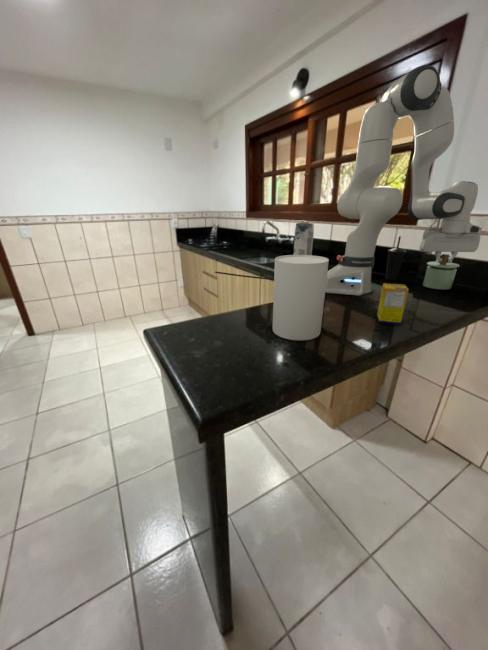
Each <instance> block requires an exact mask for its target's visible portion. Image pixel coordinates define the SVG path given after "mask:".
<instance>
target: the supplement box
mask: <svg viewBox="0 0 488 650" xmlns="http://www.w3.org/2000/svg"><path fill="white" fill-rule="evenodd" d="M408 294H409V288H408V287H407V286H406V284H401V283H387V282H384V283H382V288H381V293H380V298H379V302H378V307H377V313H376V318H377V322H378V323H379V324H389V325H390V324H391V325H399V326H400V325H401V323H402V320H403V316H404V312H405V307H406V302H407V298H408Z"/></svg>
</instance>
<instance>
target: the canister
mask: <svg viewBox="0 0 488 650" xmlns="http://www.w3.org/2000/svg"><path fill="white" fill-rule="evenodd" d="M329 262H330V259H329V258H328V257H325V256H319V255H313V254H312V255H294V254H287V255H279V256H276V257H275V258H274V273H273V274H274V276H273V278H274V280H273V298H272V299H273V300H272V301H273V302H272V303H273V304H272V307H273V308H272V328H271V330H272V332H273V333H274V334H275V335H276V336H277V337H279V338H282V339H286V340H290V341H309V340H313V339H315V338H318V337H319V336H320V335H321V331H322V324H323V323H322V322H323V315H324V314H323V313H324V306H325V305H324V303H325V299H326V298H325V296H326V293H325V289H326V280H327V272H328V271H329Z"/></svg>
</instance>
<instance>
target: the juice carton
mask: <svg viewBox="0 0 488 650" xmlns="http://www.w3.org/2000/svg"><path fill="white" fill-rule="evenodd" d="M314 233H315V223H314V222H306V221H305V219H300V220H298V222H296V223H295V230H294V239H293V241H294V242H293V255H313V247H314V235H315V234H314Z"/></svg>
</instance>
